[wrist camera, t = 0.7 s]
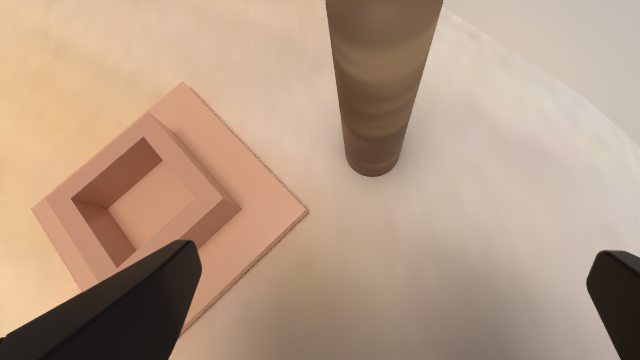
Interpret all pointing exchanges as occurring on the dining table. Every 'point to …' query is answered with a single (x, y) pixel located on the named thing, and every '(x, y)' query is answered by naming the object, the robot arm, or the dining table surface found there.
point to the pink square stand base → (170, 200)
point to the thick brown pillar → (378, 73)
